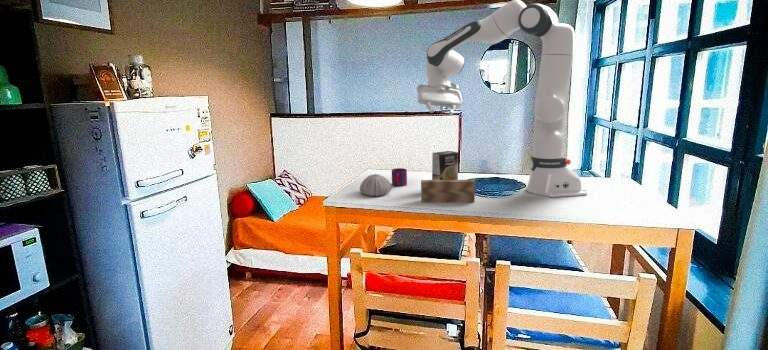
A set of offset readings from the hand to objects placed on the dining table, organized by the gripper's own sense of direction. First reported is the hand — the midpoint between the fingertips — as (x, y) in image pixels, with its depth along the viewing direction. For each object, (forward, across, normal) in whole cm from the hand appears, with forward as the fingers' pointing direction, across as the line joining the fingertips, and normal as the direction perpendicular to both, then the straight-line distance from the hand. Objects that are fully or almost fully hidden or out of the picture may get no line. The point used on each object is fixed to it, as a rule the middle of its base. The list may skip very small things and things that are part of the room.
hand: (441, 113), depth 173 cm
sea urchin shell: (+32, -27, +17) cm, 45 cm away
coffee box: (+32, +1, +9) cm, 34 cm away
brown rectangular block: (+42, -4, -2) cm, 42 cm away
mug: (+26, -14, +22) cm, 37 cm away
